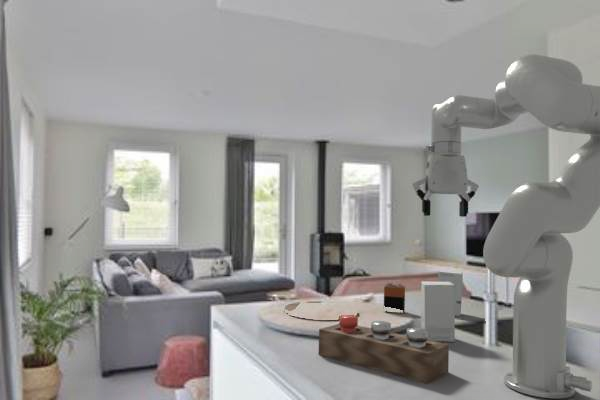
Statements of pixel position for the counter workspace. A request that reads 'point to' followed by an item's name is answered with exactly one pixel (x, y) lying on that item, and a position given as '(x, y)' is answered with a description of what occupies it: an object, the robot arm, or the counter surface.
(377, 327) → the plug
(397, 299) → the battery
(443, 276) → the skincare box
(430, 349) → the block
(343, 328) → the red plug
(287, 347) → the counter surface
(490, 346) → the counter surface
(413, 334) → the plug
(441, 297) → the skincare box
